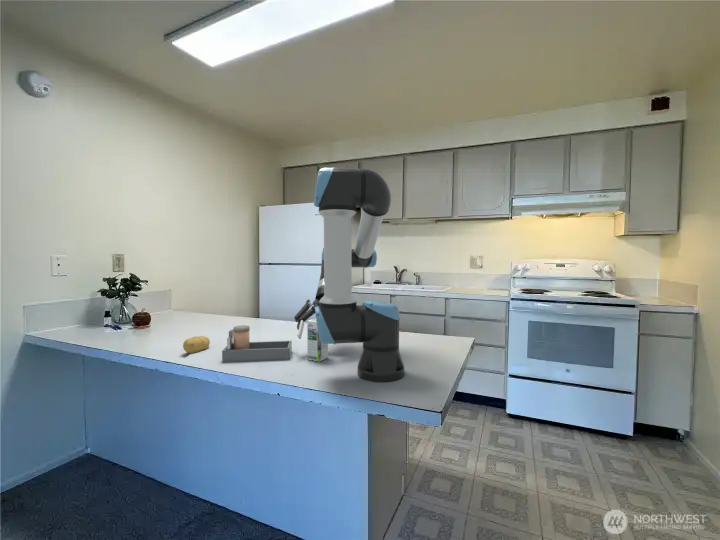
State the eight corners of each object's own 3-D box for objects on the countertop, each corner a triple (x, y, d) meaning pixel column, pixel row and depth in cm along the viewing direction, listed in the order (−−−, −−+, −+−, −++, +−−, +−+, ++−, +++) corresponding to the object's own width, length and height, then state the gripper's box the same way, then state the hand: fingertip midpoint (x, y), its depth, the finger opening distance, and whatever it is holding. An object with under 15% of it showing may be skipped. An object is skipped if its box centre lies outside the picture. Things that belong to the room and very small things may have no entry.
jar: (248, 358, 121) (247, 328, 121) (232, 359, 121) (231, 329, 120) (251, 354, 127) (250, 325, 126) (235, 354, 126) (235, 325, 126)
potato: (178, 355, 129) (177, 339, 129) (202, 347, 140) (202, 332, 139) (190, 357, 127) (190, 340, 126) (214, 349, 137) (214, 334, 136)
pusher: (235, 352, 127) (235, 328, 127) (230, 359, 119) (229, 333, 119) (232, 353, 127) (232, 328, 127) (227, 359, 119) (226, 333, 119)
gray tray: (291, 353, 131) (291, 340, 131) (289, 362, 121) (289, 348, 121) (229, 355, 128) (229, 342, 128) (222, 365, 118) (222, 350, 118)
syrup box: (306, 360, 123) (306, 320, 122) (316, 355, 128) (315, 317, 128) (319, 362, 121) (319, 322, 120) (328, 357, 126) (328, 319, 125)
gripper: (357, 298, 139) (351, 344, 125) (298, 297, 142) (286, 341, 128) (355, 286, 134) (349, 333, 119) (294, 285, 137) (281, 331, 123)
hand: (317, 337), depth 124 cm, fingers open, 13 cm apart
